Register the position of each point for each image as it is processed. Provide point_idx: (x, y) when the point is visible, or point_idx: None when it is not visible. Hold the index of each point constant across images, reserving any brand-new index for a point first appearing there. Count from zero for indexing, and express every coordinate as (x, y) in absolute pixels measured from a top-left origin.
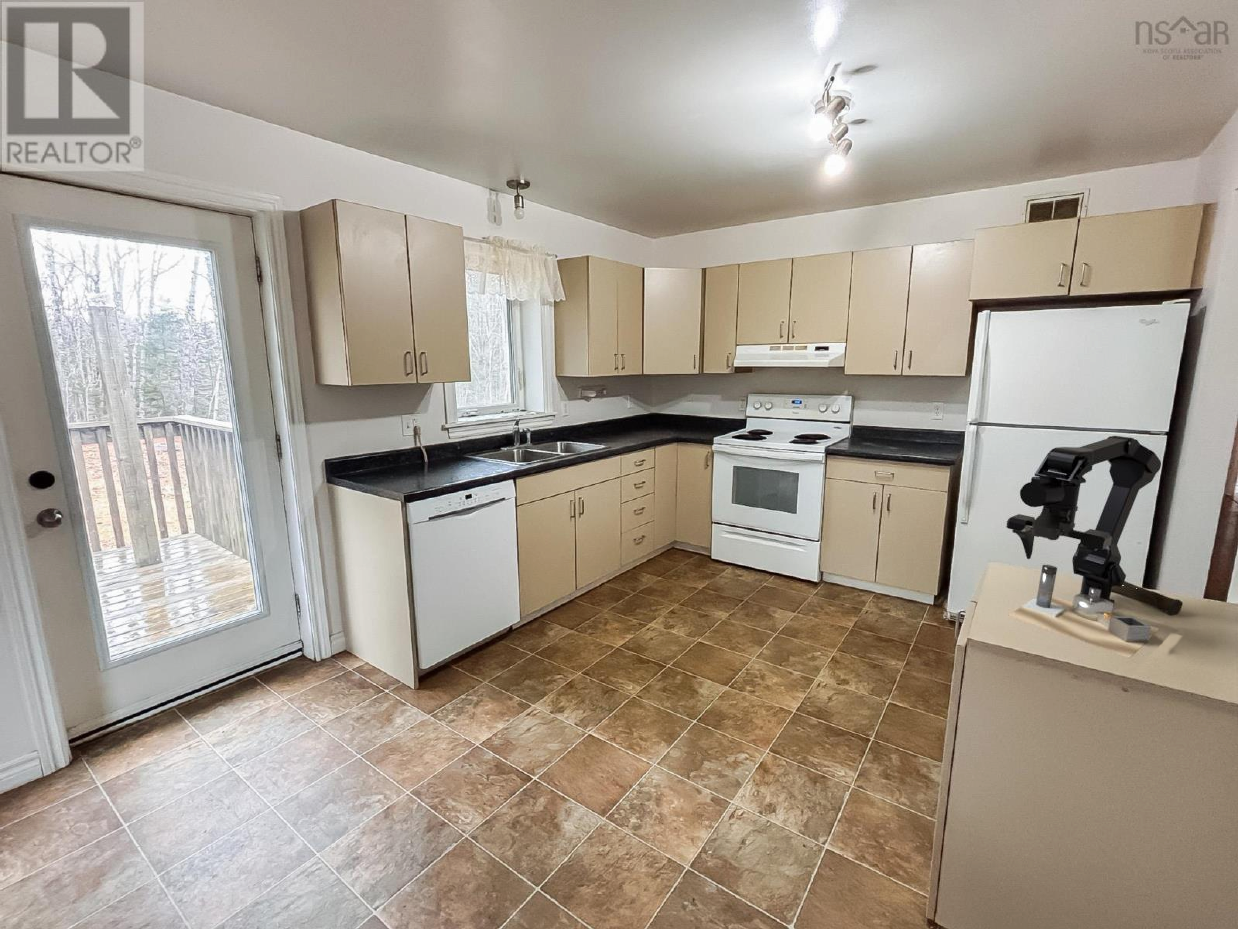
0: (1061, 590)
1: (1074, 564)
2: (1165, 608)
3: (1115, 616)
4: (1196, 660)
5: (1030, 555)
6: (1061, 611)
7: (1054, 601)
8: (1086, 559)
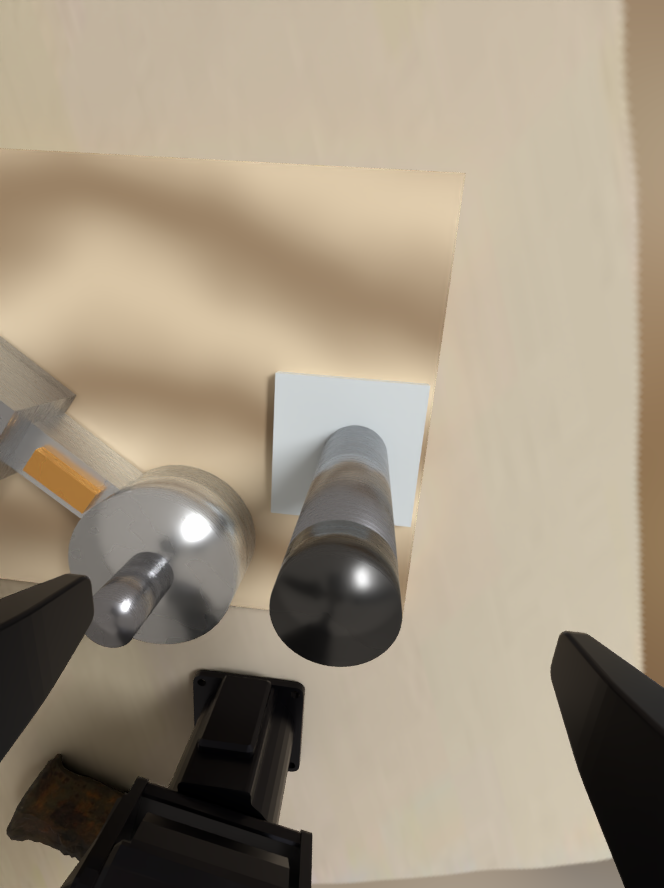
0: (365, 743)
1: (6, 621)
2: (59, 778)
3: None
4: None
5: (574, 696)
6: (273, 454)
7: None
8: None
